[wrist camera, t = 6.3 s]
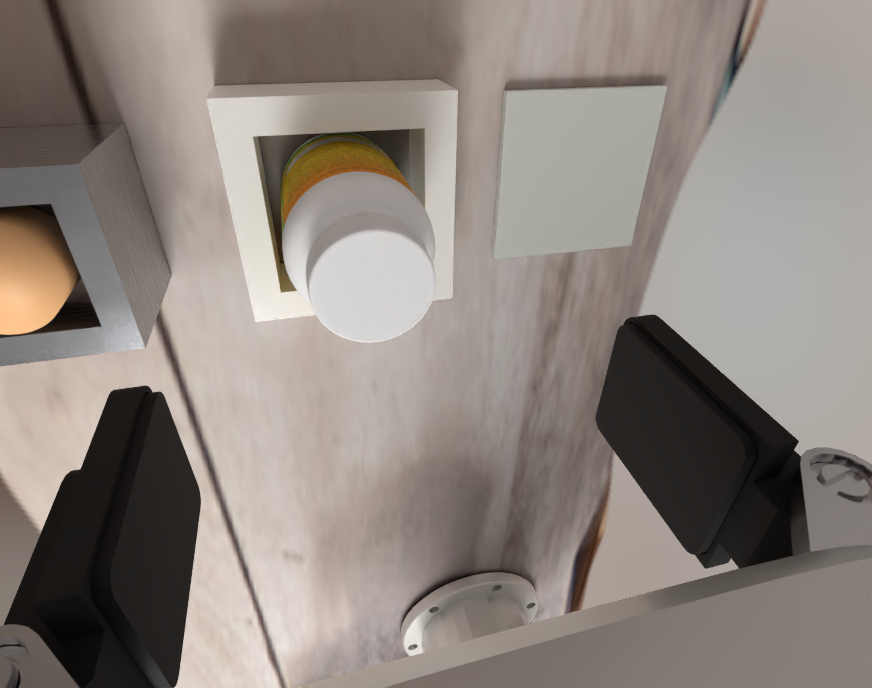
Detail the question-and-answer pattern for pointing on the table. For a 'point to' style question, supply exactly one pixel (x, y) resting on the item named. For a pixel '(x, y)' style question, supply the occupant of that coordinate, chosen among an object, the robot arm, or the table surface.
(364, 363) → the table surface
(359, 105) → the collar
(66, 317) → the egg pedestal
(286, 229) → the supplement bottle
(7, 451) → the table surface
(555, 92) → the mat
